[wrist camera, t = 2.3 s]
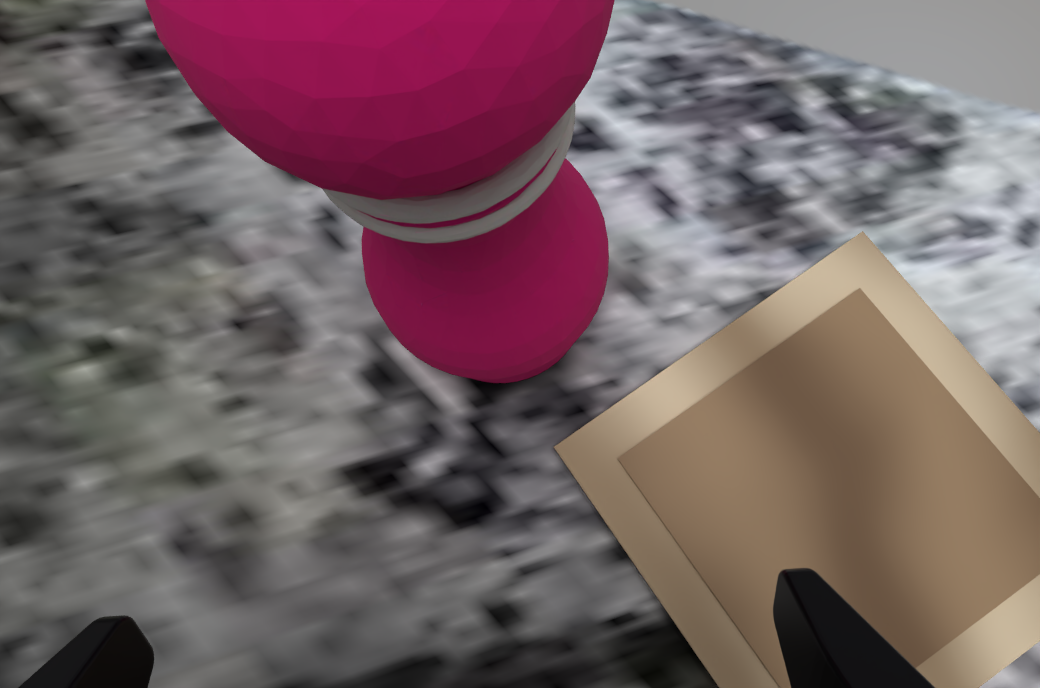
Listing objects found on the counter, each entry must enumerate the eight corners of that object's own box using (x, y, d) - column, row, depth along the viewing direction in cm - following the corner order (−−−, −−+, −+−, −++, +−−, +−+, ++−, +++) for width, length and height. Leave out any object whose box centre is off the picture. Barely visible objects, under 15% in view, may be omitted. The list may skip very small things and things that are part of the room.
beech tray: (799, 804, 20) (811, 820, 19) (554, 448, 23) (553, 446, 22) (1127, 554, 21) (1154, 558, 20) (852, 239, 24) (865, 229, 23)
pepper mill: (363, 317, 24) (-439, -354, 5) (486, 170, 25) (217, -889, 6) (518, 439, 23) (262, 183, 4) (641, 279, 24) (968, -615, 5)
